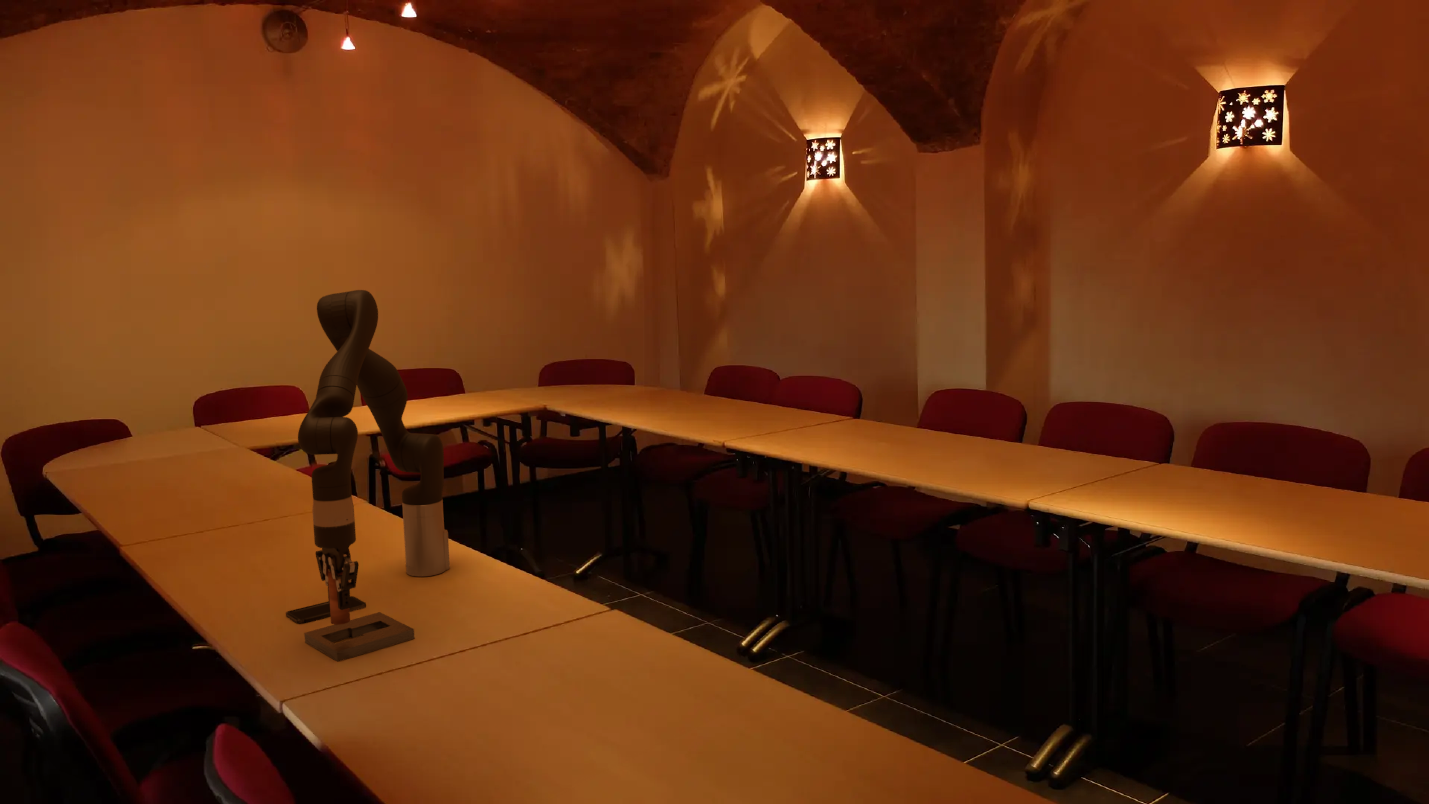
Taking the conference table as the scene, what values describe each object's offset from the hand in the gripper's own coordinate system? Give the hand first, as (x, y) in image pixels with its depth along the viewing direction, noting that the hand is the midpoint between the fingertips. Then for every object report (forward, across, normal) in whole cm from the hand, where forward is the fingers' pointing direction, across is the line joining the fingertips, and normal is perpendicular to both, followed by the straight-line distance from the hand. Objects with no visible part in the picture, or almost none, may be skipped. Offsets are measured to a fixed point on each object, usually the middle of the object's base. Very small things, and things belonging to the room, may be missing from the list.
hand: (339, 605), depth 208 cm
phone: (+9, +21, -7) cm, 24 cm away
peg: (+3, 0, 0) cm, 3 cm away
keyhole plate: (+8, 0, -4) cm, 9 cm away
